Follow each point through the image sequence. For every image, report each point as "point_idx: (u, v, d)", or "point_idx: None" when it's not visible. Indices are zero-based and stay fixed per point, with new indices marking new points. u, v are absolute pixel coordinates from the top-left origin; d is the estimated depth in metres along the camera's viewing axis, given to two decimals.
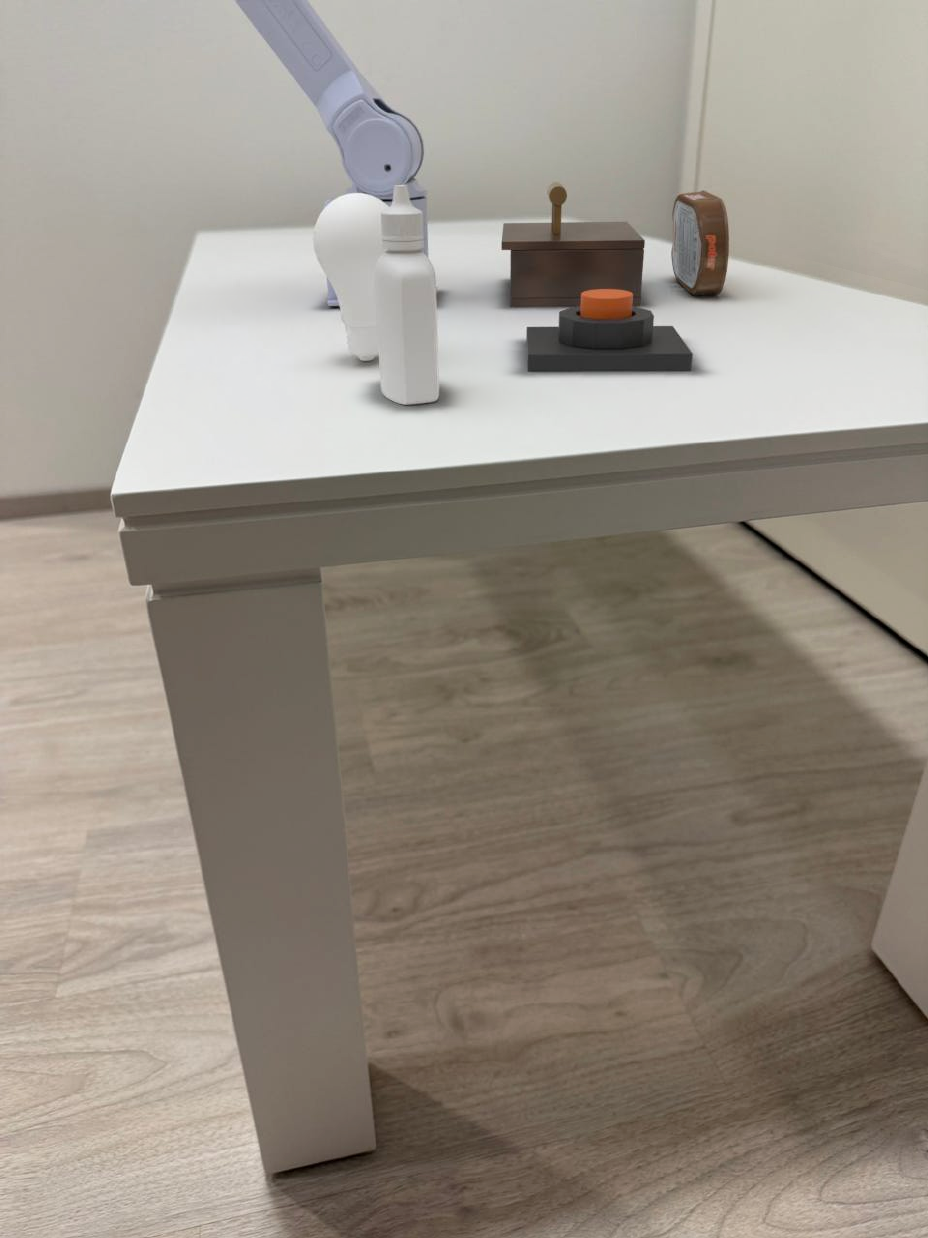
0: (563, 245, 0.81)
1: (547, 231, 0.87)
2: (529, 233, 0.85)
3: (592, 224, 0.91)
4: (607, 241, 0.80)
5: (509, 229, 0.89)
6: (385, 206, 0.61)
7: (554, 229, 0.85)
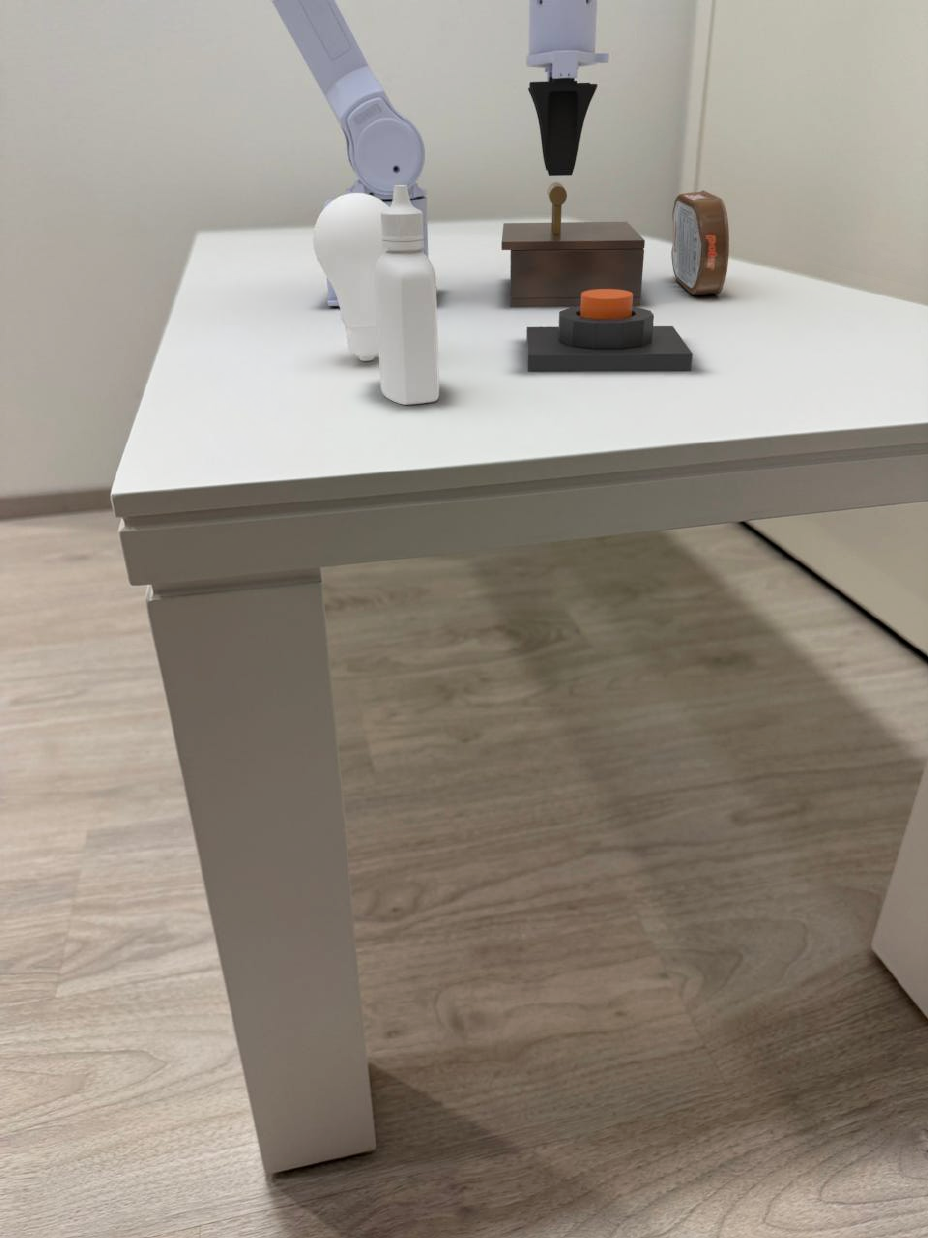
0: (563, 245, 0.81)
1: (547, 231, 0.87)
2: (529, 233, 0.85)
3: (592, 224, 0.91)
4: (607, 241, 0.80)
5: (509, 229, 0.89)
6: (385, 206, 0.61)
7: (554, 229, 0.85)
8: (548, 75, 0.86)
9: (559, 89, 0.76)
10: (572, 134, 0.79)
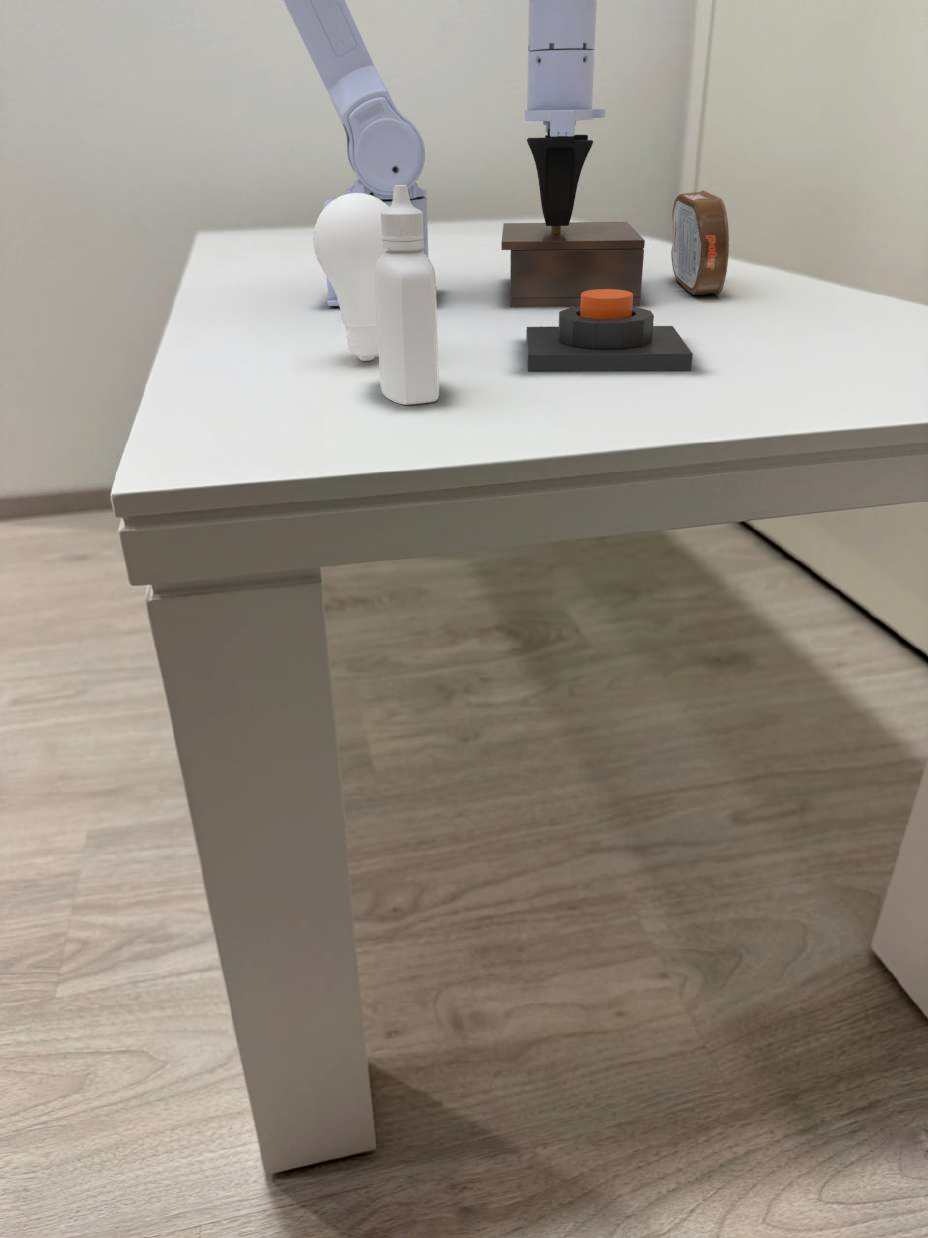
0: (563, 245, 0.81)
1: (547, 231, 0.87)
2: (529, 233, 0.85)
3: (592, 224, 0.91)
4: (607, 241, 0.80)
5: (509, 229, 0.89)
6: (385, 206, 0.61)
7: (554, 229, 0.85)
8: (546, 126, 0.88)
9: (556, 145, 0.79)
10: (569, 187, 0.82)
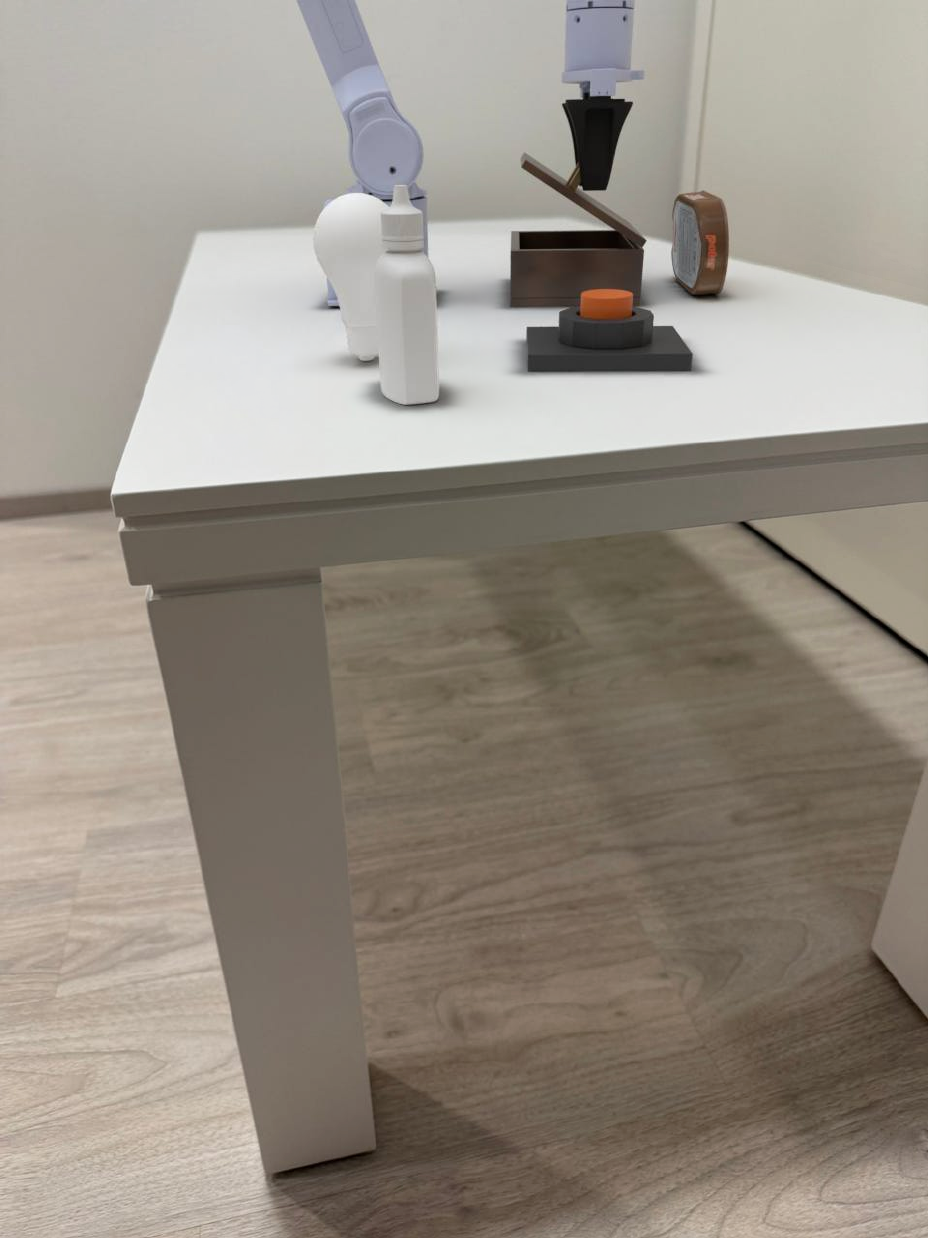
0: (576, 199, 0.79)
1: (563, 181, 0.84)
2: (548, 172, 0.83)
3: (600, 204, 0.90)
4: (615, 221, 0.79)
5: (530, 158, 0.85)
6: (385, 206, 0.61)
7: (572, 182, 0.83)
8: (581, 91, 0.87)
9: (595, 106, 0.77)
10: (607, 150, 0.80)
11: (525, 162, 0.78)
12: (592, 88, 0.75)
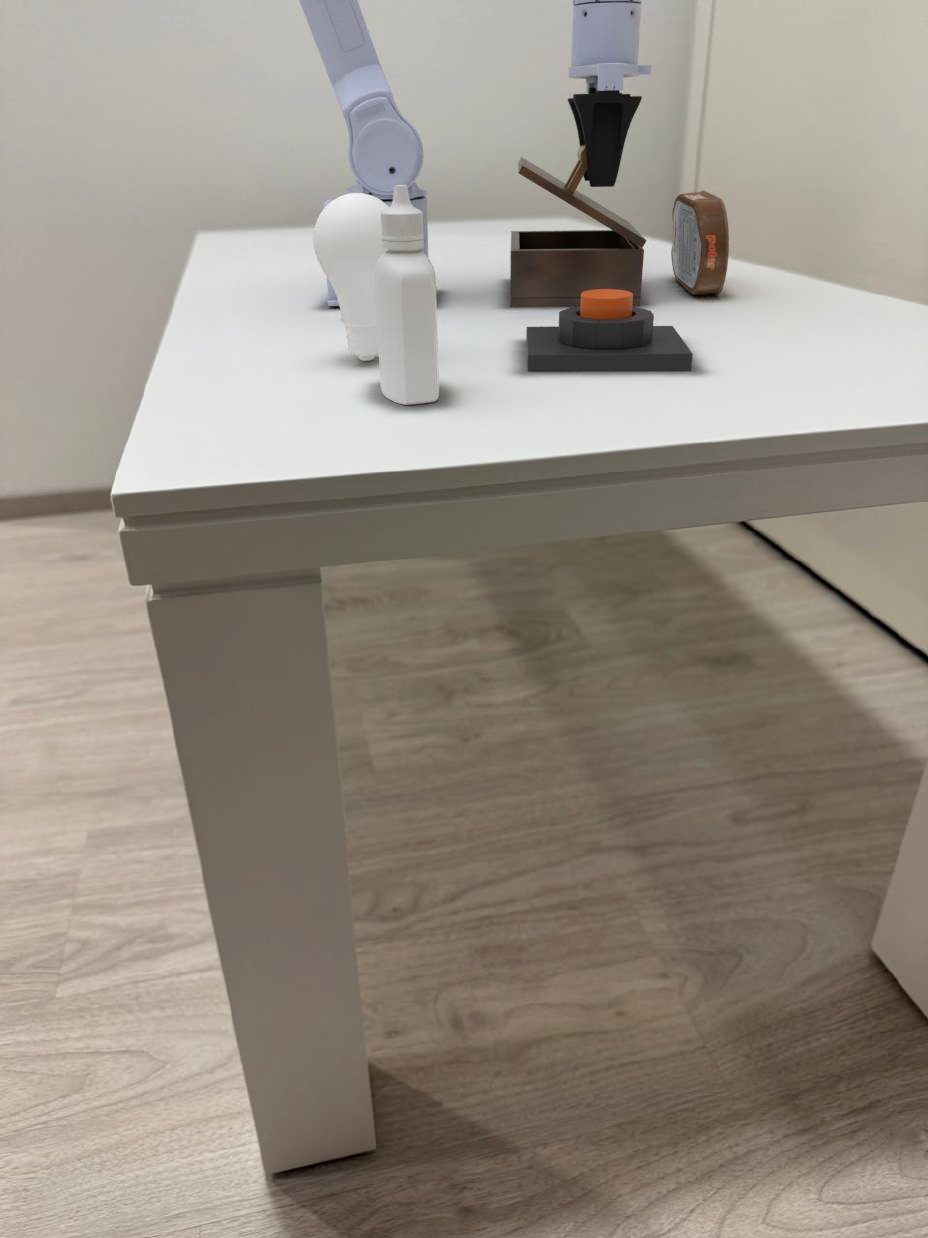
0: (574, 202, 0.79)
1: (561, 185, 0.85)
2: (546, 176, 0.83)
3: (599, 205, 0.90)
4: (614, 222, 0.79)
5: (527, 163, 0.86)
6: (385, 206, 0.61)
7: (570, 185, 0.83)
8: (587, 86, 0.86)
9: (604, 101, 0.76)
10: (615, 146, 0.79)
11: (522, 168, 0.78)
12: (600, 82, 0.75)
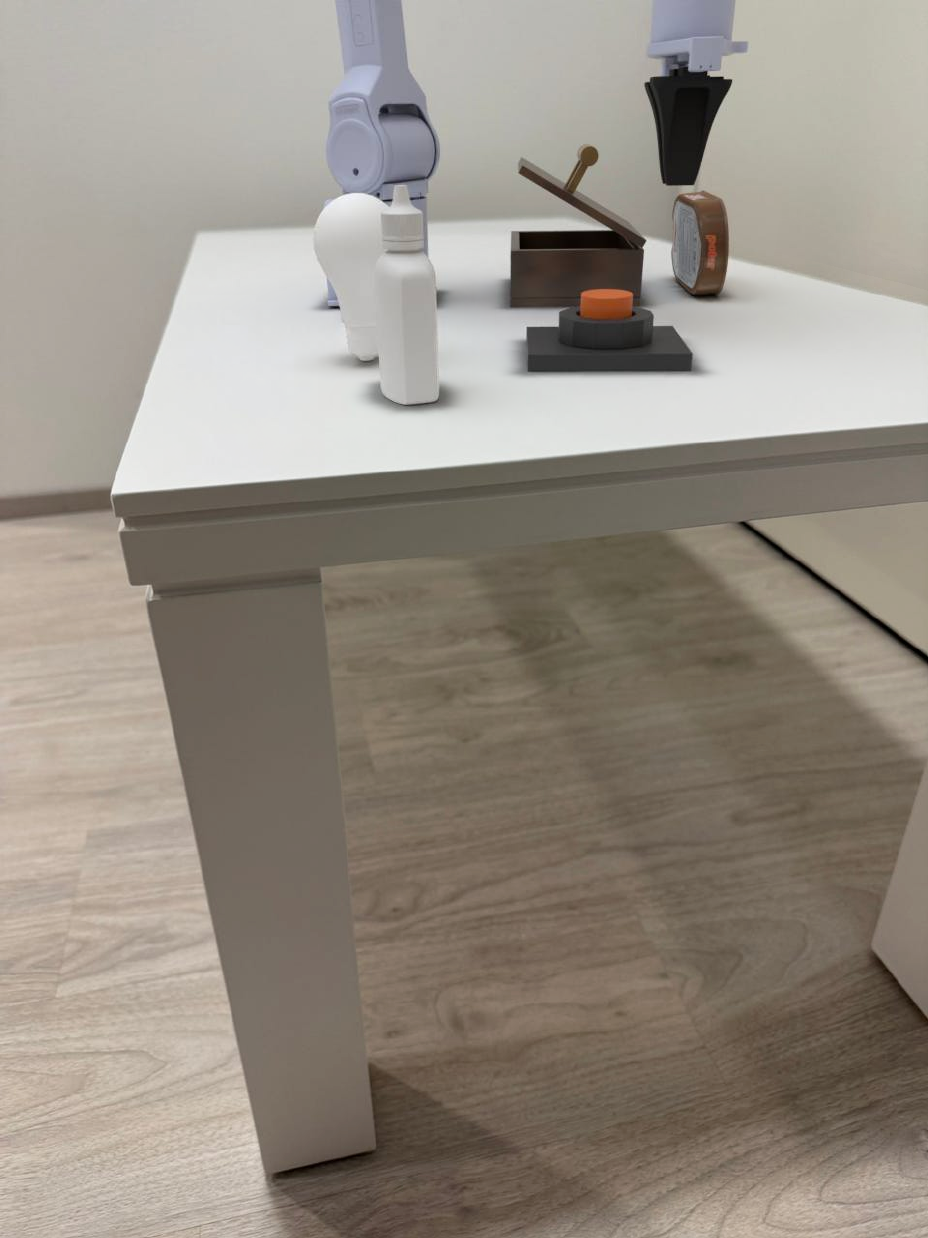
0: (574, 202, 0.79)
1: (561, 185, 0.85)
2: (546, 176, 0.83)
3: (599, 205, 0.90)
4: (614, 222, 0.79)
5: (527, 163, 0.86)
6: (385, 206, 0.61)
7: (570, 185, 0.83)
8: (663, 68, 0.73)
9: (688, 85, 0.65)
10: (698, 137, 0.68)
11: (522, 168, 0.78)
12: (693, 61, 0.61)
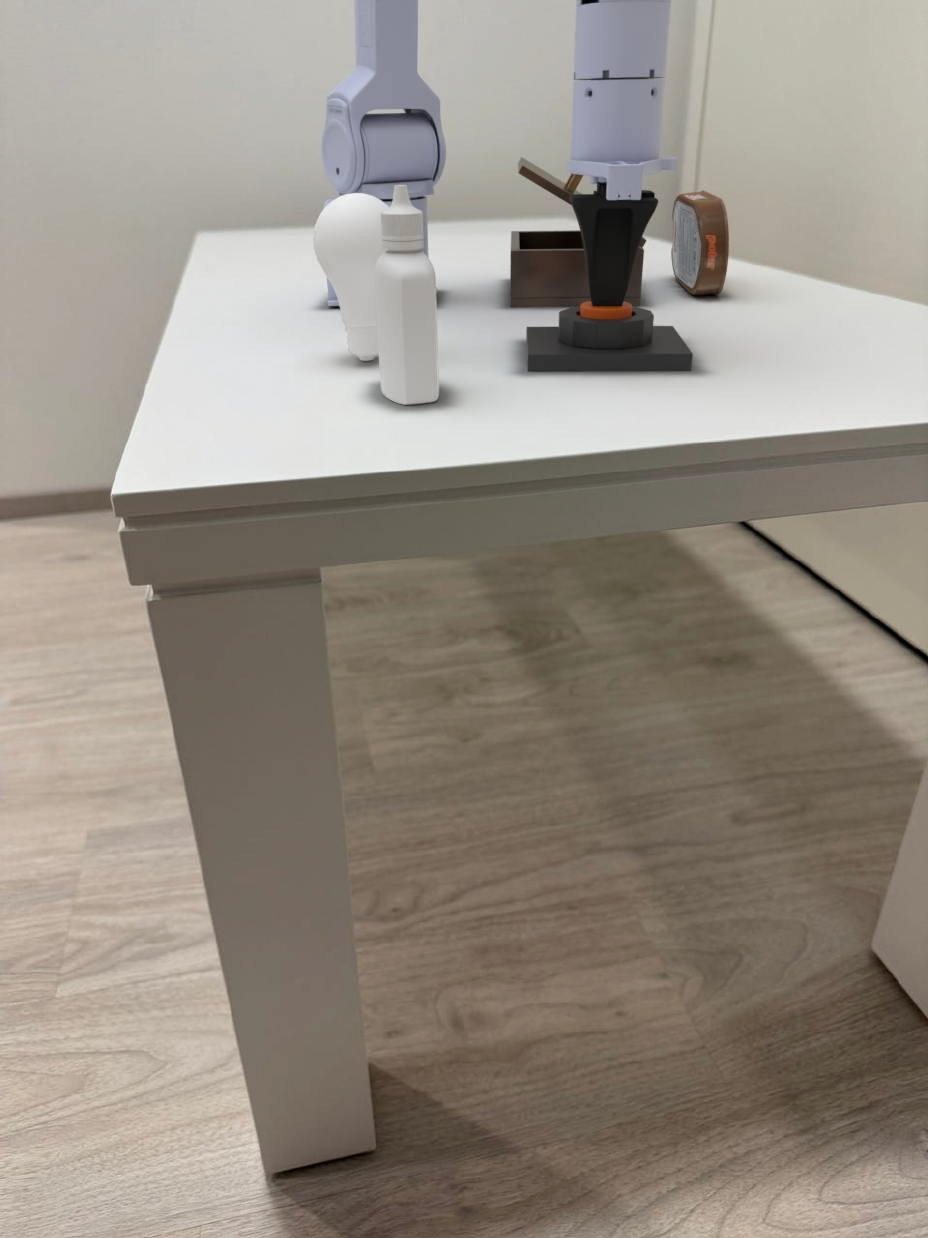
0: None
1: (561, 185, 0.85)
2: (546, 176, 0.83)
3: None
4: None
5: (527, 163, 0.86)
6: (385, 206, 0.61)
7: (570, 185, 0.83)
8: None
9: (610, 207, 0.59)
10: (624, 258, 0.63)
11: (522, 168, 0.78)
12: (609, 190, 0.55)
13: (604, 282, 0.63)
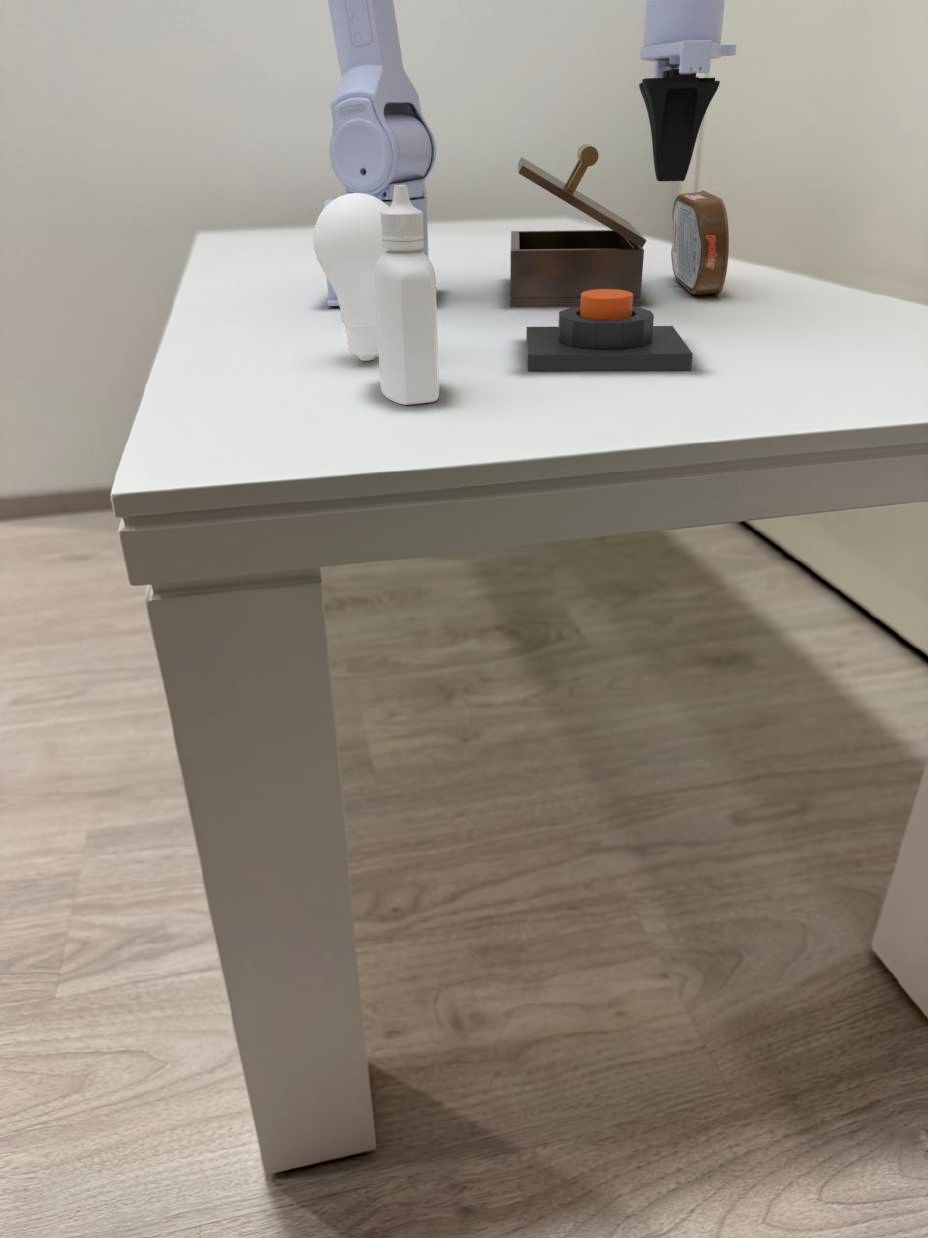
0: (574, 202, 0.79)
1: (561, 185, 0.85)
2: (546, 176, 0.83)
3: (599, 205, 0.90)
4: (614, 222, 0.79)
5: (527, 163, 0.86)
6: (385, 206, 0.61)
7: (570, 185, 0.83)
8: (656, 70, 0.76)
9: (678, 86, 0.69)
10: (688, 136, 0.72)
11: (522, 168, 0.78)
12: (683, 63, 0.64)
13: (669, 158, 0.73)
